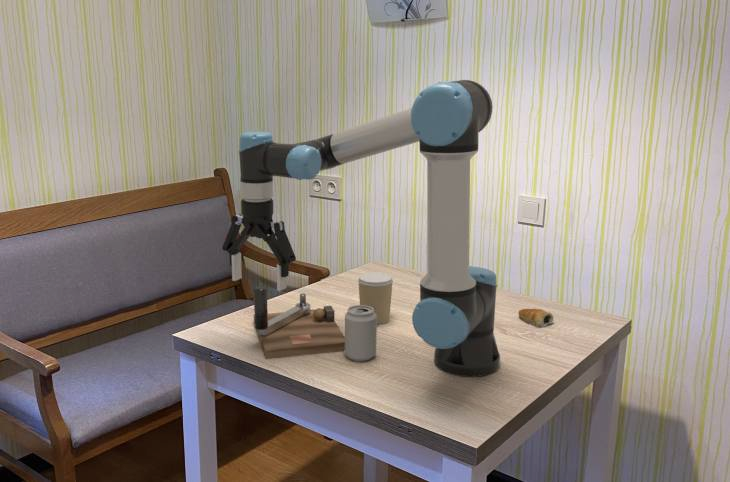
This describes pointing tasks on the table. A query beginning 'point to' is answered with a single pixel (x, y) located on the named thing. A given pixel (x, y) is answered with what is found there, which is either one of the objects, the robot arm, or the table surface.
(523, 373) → the table surface
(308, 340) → the nutcracker board
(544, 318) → the pastry
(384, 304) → the coffee cup
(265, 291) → the lever
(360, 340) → the can
